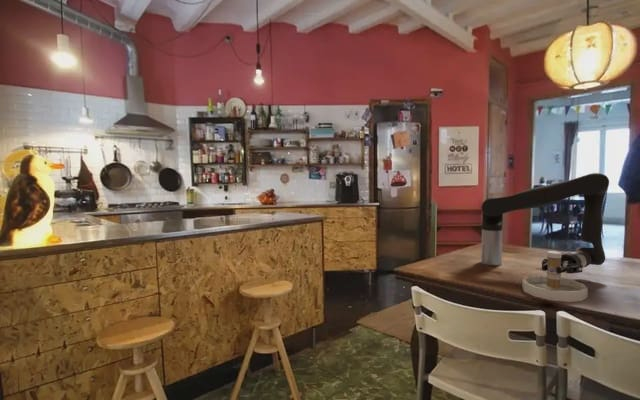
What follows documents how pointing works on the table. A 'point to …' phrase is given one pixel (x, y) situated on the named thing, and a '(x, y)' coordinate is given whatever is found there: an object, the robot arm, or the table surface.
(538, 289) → the bowl
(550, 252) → the sprinkles bottle
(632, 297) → the table surface
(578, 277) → the table surface
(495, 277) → the table surface
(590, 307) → the table surface
